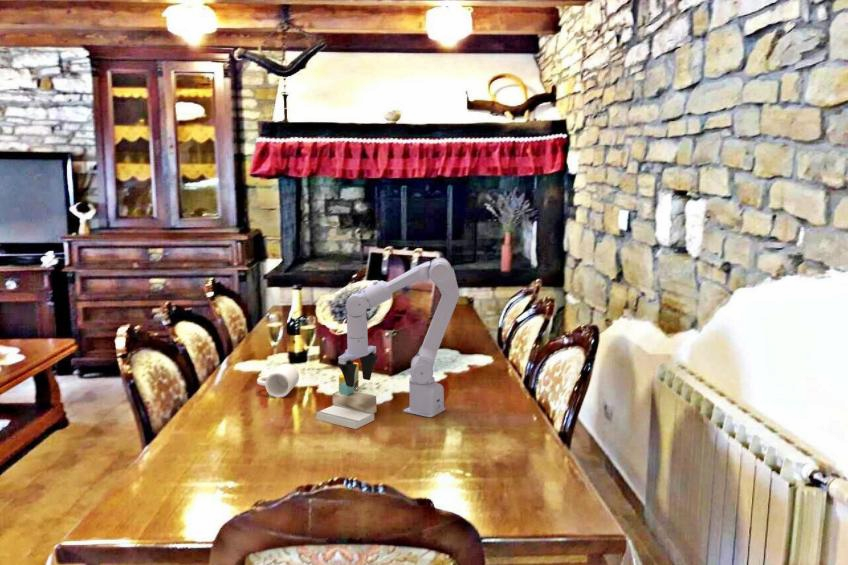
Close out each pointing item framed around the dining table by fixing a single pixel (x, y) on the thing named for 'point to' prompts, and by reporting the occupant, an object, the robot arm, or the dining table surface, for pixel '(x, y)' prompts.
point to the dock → (345, 416)
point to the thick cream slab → (356, 401)
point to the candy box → (356, 377)
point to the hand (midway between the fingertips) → (358, 382)
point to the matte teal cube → (346, 389)
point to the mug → (280, 380)
